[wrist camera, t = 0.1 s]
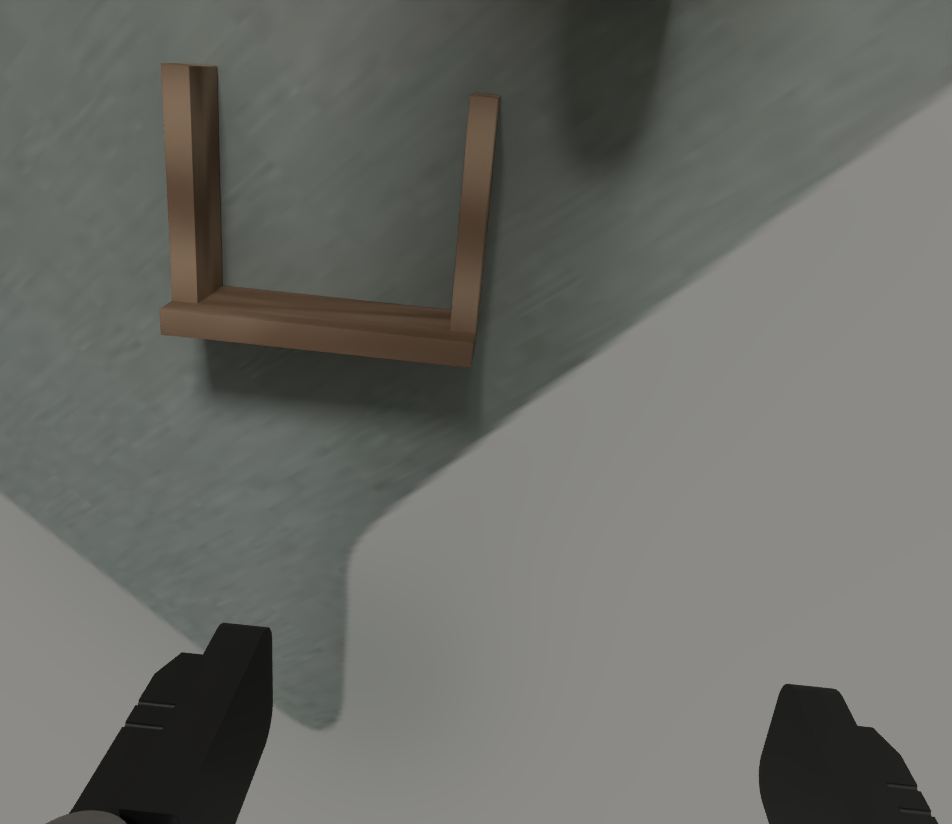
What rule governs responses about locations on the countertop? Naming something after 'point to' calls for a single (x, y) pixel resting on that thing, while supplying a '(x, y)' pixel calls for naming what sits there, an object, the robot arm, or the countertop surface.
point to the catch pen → (298, 315)
